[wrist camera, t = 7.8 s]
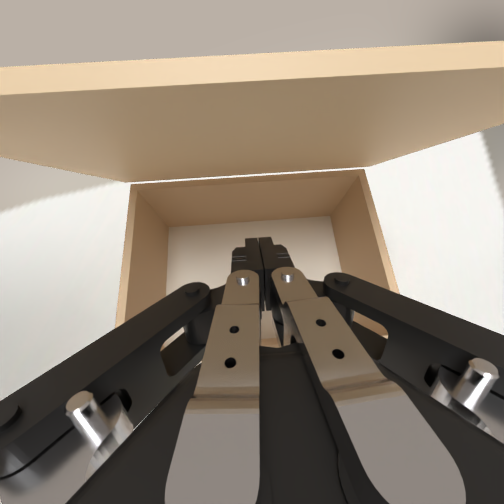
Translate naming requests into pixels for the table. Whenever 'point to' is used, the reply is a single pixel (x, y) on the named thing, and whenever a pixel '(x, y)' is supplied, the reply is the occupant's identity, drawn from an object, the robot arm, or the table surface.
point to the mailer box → (249, 235)
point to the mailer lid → (249, 110)
